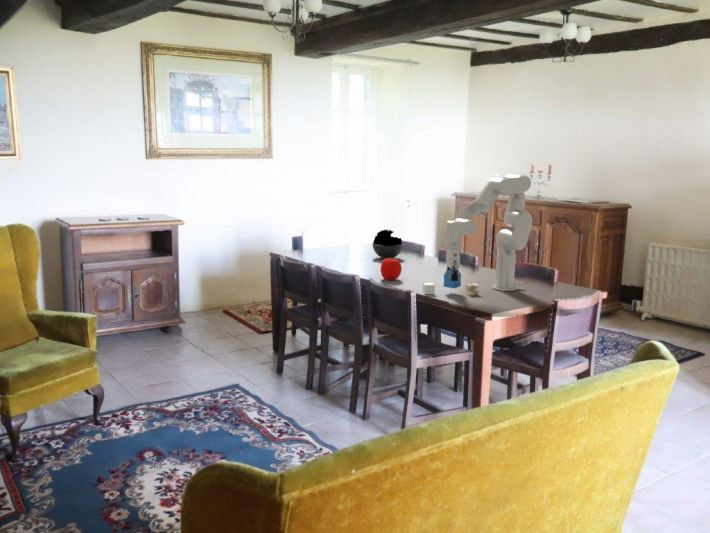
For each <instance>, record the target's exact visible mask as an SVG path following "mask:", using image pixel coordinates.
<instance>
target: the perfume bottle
mask: <svg viewBox="0 0 710 533" xmlns="http://www.w3.org/2000/svg"><path fill="white" fill-rule="evenodd" d="M453 270H454V269H453ZM451 273H452V269H451V268H450V269H449V270H447V269H446V270H445V273H444V274H443V287H444V288H449V289H456V288H457V289H458V288H460V287H461V286H462V285H461V283H462V279H461V278H462V273H461V272H460V270H459V269H458V281H451Z"/></svg>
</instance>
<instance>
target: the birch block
mask: <svg viewBox="0 0 710 533" xmlns="http://www.w3.org/2000/svg"><path fill="white" fill-rule="evenodd" d="M466 293H467V294H466ZM465 294H466V295H467V296H479V285H478V284H477V283H465Z"/></svg>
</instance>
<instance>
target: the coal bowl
mask: <svg viewBox="0 0 710 533" xmlns="http://www.w3.org/2000/svg"><path fill="white" fill-rule="evenodd" d="M392 234H394V230H392V229H390V230H389V229H383V230H382V229H381V230H379V231H378V232H377V233H376V235H375V236H374V239H373V242H372V243H371V244H372V248H373V251H374V253H375V254H376V255H377V256H378V257H379V258H381V259H383V260H384V259H387V258H390V257H391V258H393V259H395V258H396V257H397V256H399V254H400V253H401V252H402V250H403V247H404V244H403V239H402V238H401V237H397V236H392Z"/></svg>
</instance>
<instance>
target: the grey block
mask: <svg viewBox="0 0 710 533" xmlns="http://www.w3.org/2000/svg"><path fill="white" fill-rule="evenodd" d="M435 285H436V284H434V282H423V283H422V293H423V295H425V294H435V293H436V292H435V291H436V286H435Z"/></svg>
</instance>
